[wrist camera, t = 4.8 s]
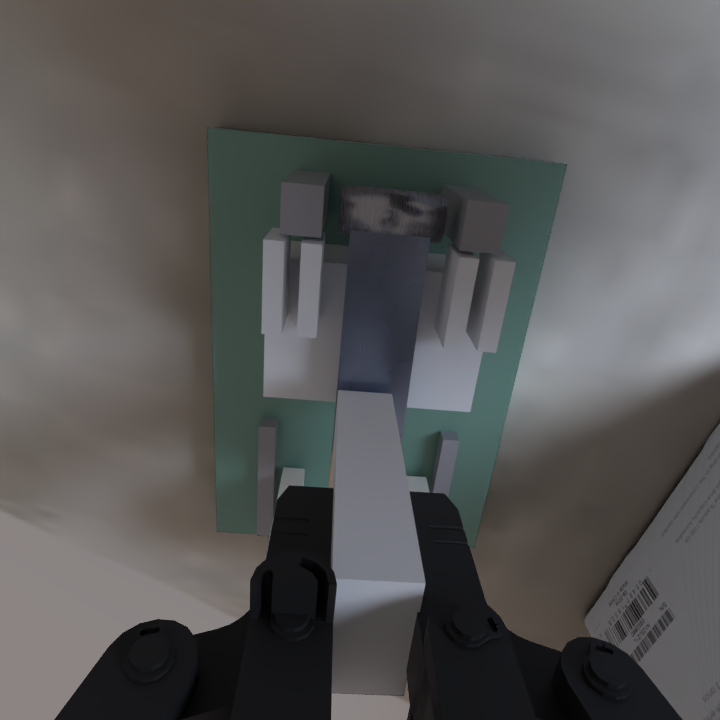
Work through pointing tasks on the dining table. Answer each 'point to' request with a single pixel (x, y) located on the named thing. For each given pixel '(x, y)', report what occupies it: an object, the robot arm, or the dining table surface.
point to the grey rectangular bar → (384, 287)
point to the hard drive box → (673, 594)
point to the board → (243, 307)
